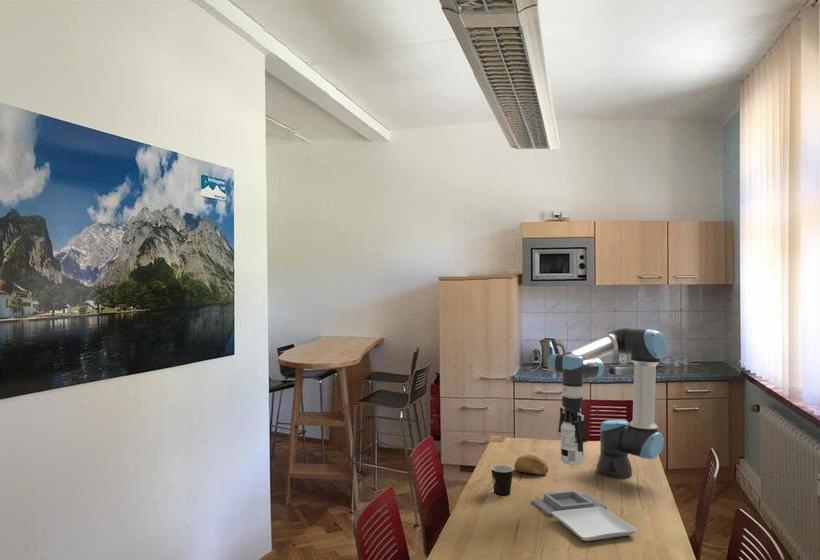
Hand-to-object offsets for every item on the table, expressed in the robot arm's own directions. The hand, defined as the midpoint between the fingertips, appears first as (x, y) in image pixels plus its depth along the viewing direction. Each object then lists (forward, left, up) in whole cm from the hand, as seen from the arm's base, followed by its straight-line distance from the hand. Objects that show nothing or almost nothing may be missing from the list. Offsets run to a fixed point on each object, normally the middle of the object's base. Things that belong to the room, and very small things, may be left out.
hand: (572, 456), depth 226 cm
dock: (+1, -1, -19) cm, 19 cm away
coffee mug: (+19, -21, -19) cm, 34 cm away
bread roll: (-3, -39, -20) cm, 44 cm away
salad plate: (+4, +19, -20) cm, 28 cm away
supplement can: (0, 0, -2) cm, 2 cm away
